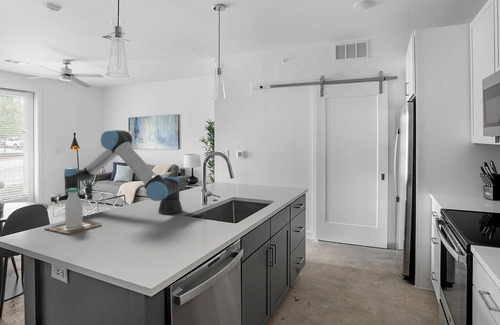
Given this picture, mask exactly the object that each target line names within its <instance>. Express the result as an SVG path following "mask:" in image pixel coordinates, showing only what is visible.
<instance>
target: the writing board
mask: <svg viewBox="0 0 500 325" xmlns="http://www.w3.org/2000/svg"><path fill="white" fill-rule="evenodd" d="M99 227H102V224H100V223H95V222H91V221H85V220H83V224H82V225H81V226H79V227H73V228H68V227H66V222H65V223H61V224H55V225H53V226H48V227H45V228H44V231H49V232H53V233H58V234H61V235H65V236H70V235H74V234H78V233H81V232H84V231H87V230H91V229H94V228H99Z"/></svg>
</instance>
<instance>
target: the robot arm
mask: <svg viewBox="0 0 500 325" xmlns="http://www.w3.org/2000/svg"><path fill="white" fill-rule="evenodd" d="M133 141H134V140H133V137H132V134H131V133H130V132H128V131H127V130H119V129H118V130H117V129H106V130H105V131H104V132H103V133H102V134H101V136H100V144H101V146H102V147H103V148H104V149H105V150H104V151H102V152H101V153H100V154H99V155H98V156H97V157H95V158H94V159H93V160H92V161H91V162H90V163H89V164H87V165H86V166H85V167H84V168H82V169H78V167H66V168H64V172H63V174H64V176H63V177H64V194H63V195H62V194H58V195H54V196H51V197H50V202H51V203H55V204H57V205H59V204H60V202H61V201H62V202H63V201H66V200H67V198H68V189H71V188H77V189H78V197H79V198H80V200H82V199H83V200H85V202H88V200H92V199H93V194H92V193H86V192H82V193H80V188H79V187H80V186H79V185H80V184H79V182H84V181H90V180H93V179H94V178H96V175H97V173H98V172H100V171H101V170H102V169H103V168H105V167H106V166H107V165H108V164H109V163H110V162H111V161H113V160H114V159H115V158H116V157H117V156H119V157H120V159H121V160H122V161H123V162H124V163H125V164H126V165H127V166H128V167H129V168H130V170H131V171H132V172H133V173H134V174H135V175H136V176H137V177H138V178H139V180H140V181H141V182H142V183H143V188H144V189H145V191H146V192H145V194H146V196H147V197H148V199H150V201H151V200H152V201H154V202H159V201H160V203H159V207H158V211H157V212H158V213H159V214H161V215H175V214H179V213H180V214H181V213H182V212H183V206H182V204H181V200H180V179H179V177H177V176H161V174H156V173H155V171H153V170H152V169H151V168H150V166H149V165H148V164H147V163H146V162H145V161H144V160H143V158H142V157H141V156H140V155H139V153H137V152H136V151H135V150H134V149H133V148H132V147H131V146H132V144H133Z"/></svg>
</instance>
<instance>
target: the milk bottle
mask: <svg viewBox="0 0 500 325" xmlns="http://www.w3.org/2000/svg"><path fill="white" fill-rule="evenodd" d="M81 200H82V199H80V198H79V197H78V189H77V188H71V189H68V198H67V200H65V203H64V210H65V211H64V212H65V213H64V214H65V215H64V216H65V223H66V227H68V228H73V227H79V226H81V225H82V224H83V221H84V220H83V205H82V201H81Z"/></svg>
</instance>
